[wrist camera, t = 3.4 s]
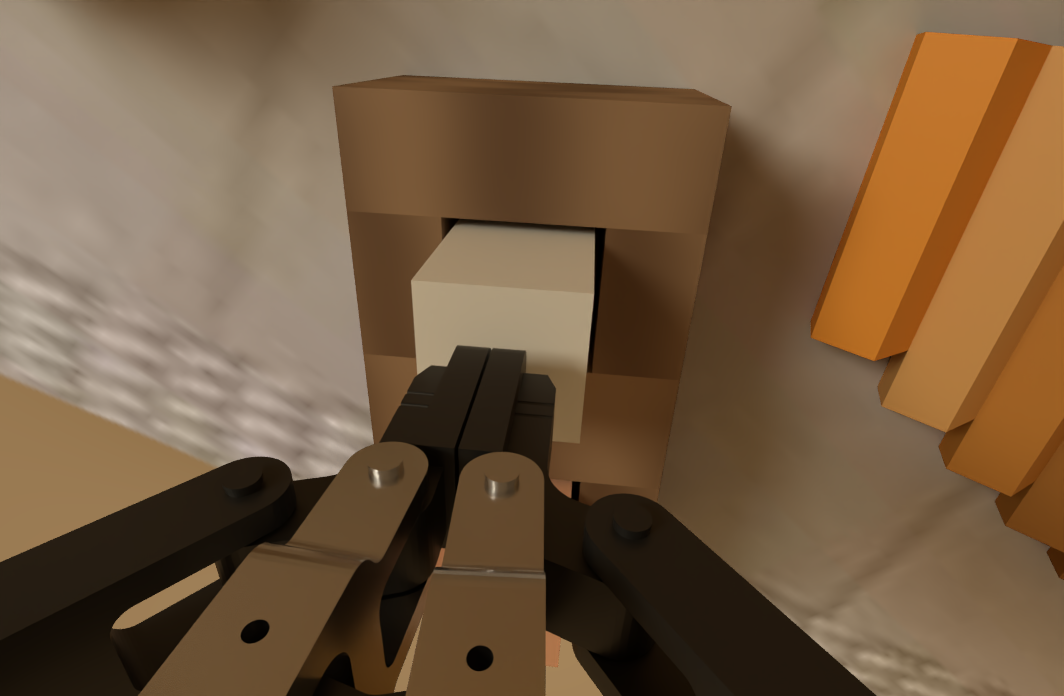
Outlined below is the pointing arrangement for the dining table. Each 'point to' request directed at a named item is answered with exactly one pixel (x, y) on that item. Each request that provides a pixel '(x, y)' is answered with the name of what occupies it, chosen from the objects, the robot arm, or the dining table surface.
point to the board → (543, 198)
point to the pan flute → (967, 267)
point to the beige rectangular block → (512, 303)
